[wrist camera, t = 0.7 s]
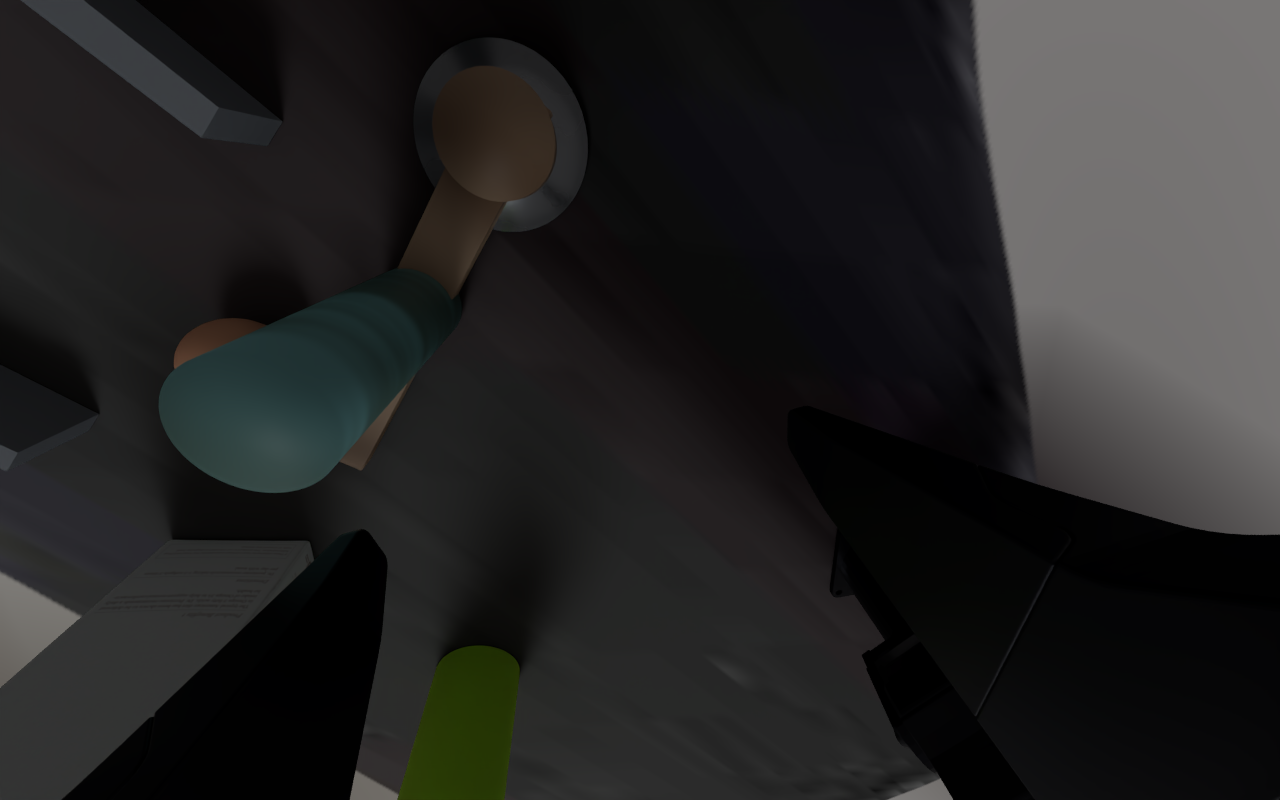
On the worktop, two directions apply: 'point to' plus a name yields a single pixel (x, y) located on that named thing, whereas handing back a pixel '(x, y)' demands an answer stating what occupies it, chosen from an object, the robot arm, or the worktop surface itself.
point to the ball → (212, 337)
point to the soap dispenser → (465, 728)
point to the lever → (364, 313)
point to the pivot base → (554, 97)
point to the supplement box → (132, 657)
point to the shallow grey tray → (187, 89)
